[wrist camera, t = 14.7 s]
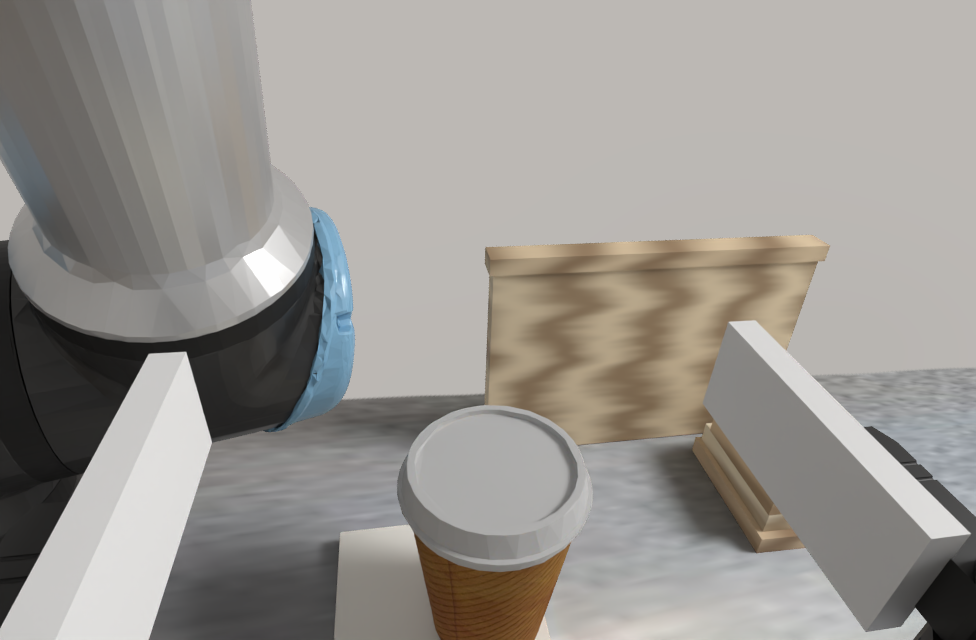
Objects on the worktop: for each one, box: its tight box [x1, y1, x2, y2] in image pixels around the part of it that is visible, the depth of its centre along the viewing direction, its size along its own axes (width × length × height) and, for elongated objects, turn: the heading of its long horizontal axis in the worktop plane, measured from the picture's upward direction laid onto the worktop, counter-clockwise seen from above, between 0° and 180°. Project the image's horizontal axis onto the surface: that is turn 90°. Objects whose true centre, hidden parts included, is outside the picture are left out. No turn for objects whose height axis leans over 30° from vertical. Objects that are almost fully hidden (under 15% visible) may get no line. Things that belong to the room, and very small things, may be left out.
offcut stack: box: [692, 419, 805, 553], centre depth 43 cm, size 6×10×5 cm, turn 8°
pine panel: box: [485, 235, 830, 445], centre depth 45 cm, size 25×2×17 cm, turn 99°
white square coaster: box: [334, 525, 551, 640], centre depth 35 cm, size 12×12×1 cm
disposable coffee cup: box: [397, 405, 593, 640], centre depth 31 cm, size 10×10×12 cm
